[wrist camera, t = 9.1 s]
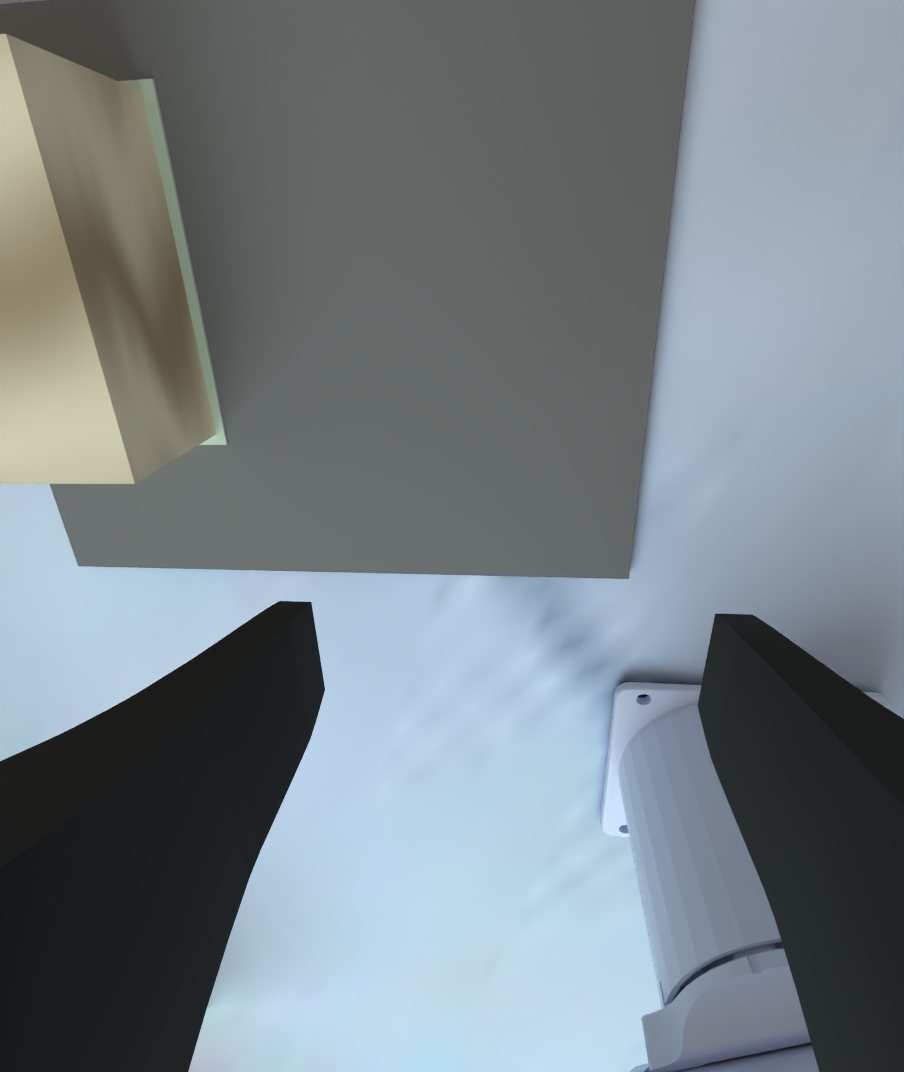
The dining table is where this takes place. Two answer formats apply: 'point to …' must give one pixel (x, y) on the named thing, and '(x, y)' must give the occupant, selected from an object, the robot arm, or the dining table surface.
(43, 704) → the dining table surface
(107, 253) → the maple block
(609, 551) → the rubber mat
